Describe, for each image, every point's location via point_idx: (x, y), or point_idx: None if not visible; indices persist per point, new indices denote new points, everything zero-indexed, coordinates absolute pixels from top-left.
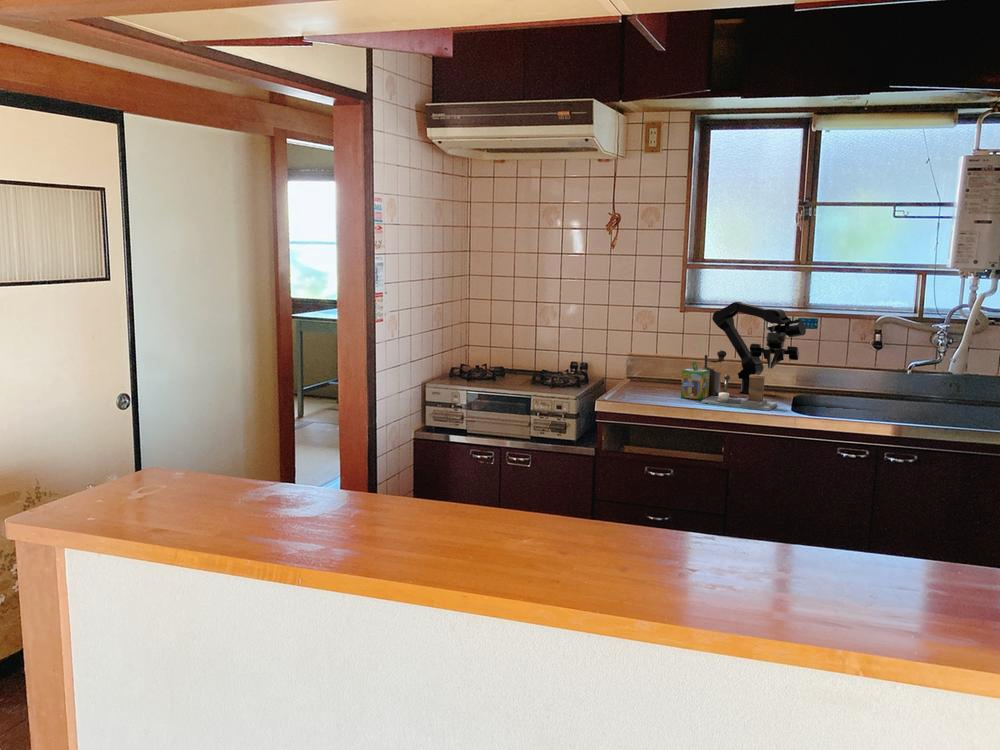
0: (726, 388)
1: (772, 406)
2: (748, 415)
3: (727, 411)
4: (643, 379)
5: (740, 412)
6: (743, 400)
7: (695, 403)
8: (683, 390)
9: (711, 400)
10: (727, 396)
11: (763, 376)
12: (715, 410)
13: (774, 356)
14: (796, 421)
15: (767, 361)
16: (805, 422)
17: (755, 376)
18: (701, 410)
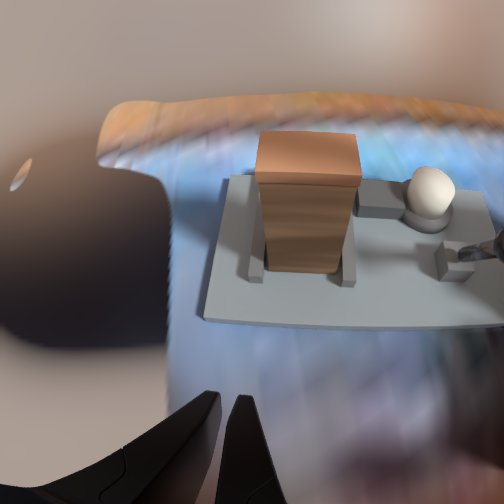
0: (468, 249)
1: (220, 232)
2: (280, 103)
3: (352, 120)
4: None
5: (313, 122)
6: None
7: (486, 190)
8: None
9: (466, 214)
10: (411, 179)
11: (259, 140)
12: (385, 120)
13: (109, 501)
14: (157, 106)
15: (267, 449)
16: (138, 108)
17: (312, 134)
18: (412, 111)
